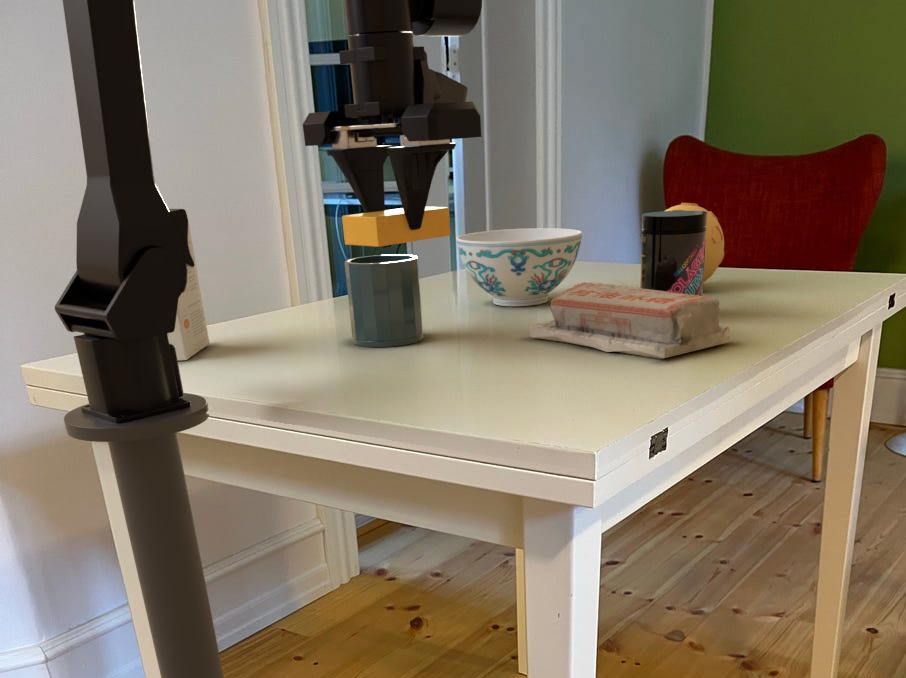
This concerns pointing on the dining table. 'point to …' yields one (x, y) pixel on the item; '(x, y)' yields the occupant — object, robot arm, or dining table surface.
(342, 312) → the dining table surface
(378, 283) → the cup
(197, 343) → the small box
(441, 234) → the orange flat block
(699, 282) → the supplement container
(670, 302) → the packaged product
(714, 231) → the stress ball
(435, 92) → the robot arm
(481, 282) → the chinaware
